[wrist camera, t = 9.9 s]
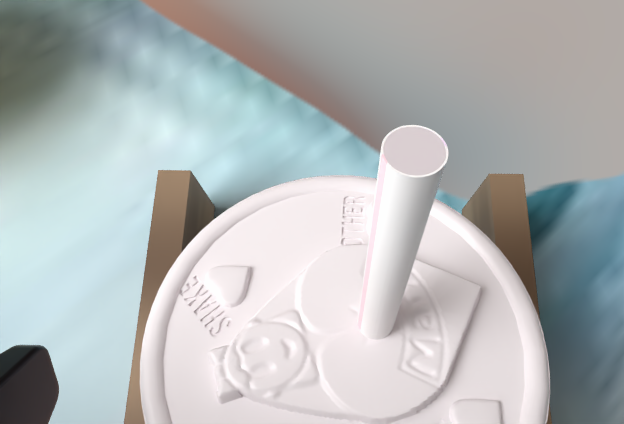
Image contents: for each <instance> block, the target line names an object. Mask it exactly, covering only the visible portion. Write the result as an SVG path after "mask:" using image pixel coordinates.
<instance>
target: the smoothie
mask: <svg viewBox="0 0 624 424" xmlns="http://www.w3.org/2000/svg"><path fill="white" fill-rule="evenodd" d="M447 158H448V148H447V145H446V143H445V141H444V140H443V139H442V137H441V136H440V135H439V134H437V133H436V132H434V131H433V130H431V129H429V128H426V127H423V126H417V125H407V126H401V127H399V128H396V129H394V130H392V131H391V132H389V133H388V134H387V135H386V137H385V138H384V140H383V142H382V146H381V153H380V160H379V168H378V175H377V179H376V178H370V177H362V176H351V175H331V176H317V177H310V178H304V179H299V180H294V181H290V182H286V183H283V184H280V185H277V186H273V187H270V188H268V189H265V190H263V191H261V192H258V193H256V194H254V195H252V196H250V197H248V198H246V199H244V200H242V201H240V202H239V203H237V204H235V205H234V206H232V207H231V208H229V209H227V210H226V211H224V212H223V213H222V214H221V215H219V216H218V217H217V218H215V219H214V220H213V221H211V222H210V223H209V224H208V225H207V226H206V227H205V228H204V229H202V230H201V231H200V232H199V233H198V234H197V235H196V236H195V238H194V239H193V240H192V241H191V242H190V243H189V244H188V245H187V246H186V248H185V249H184V250H183V251H182V253H181V254H180V255H179V257H178V258H177V259H176V261H175V262H174V264H173V265H172V267H171V268H170V270H169V272H168V273H167V275H166V277H165V279H164V281H163V283H162V284H161V286H160V288H159V290H158V293H157V295H156V297H155V300H154V302H153V305H152V307H151V311H150V314H149V317H148V320H147V323H146V328H145V332H144V337H143V342H142V349H141V358H140V393H141V404H142V410H143V415H144V420H145V424H546V423H547V418H548V411H549V400H550V371H549V362H548V353H547V348H546V343H545V339H544V334H543V330H542V327H541V324H540V321H539V318H538V315H537V312H536V310H535V307H534V305H533V303H532V300H531V298H530V296H529V294H528V292H527V290H526V288H525V286H524V284H523V282H522V281H521V279H520V277H519V276H518V274H517V273H516V271H515V270H514V268H513V267H512V265H511V263H510V262H509V261H508V260H507V258H506V257H505V256H504V255H503V253H502V252H501V251H500V249H499V248H498V247H497V246H496V245H495V244H494V243H493V242H492V241H491V240H490V239H489V238H488V237H487V235H485V234H484V233H483V232H482V231H481V230H480V229H479V228H478V227H477V226H475V225H474V224H473V223H472V222H471V221H469V220H468V219H467V218H465V217H464V216H463V215H461V214H460V213H459V212H457V211H455V210H454V209H452V208H451V207H449V206H448V205H446V204H444V203H443V202H441V201H439V200H437V199H435V196H436V193H437V190H438V187H439V183H440V180H441V177H442V174H443V171H444V168H445V165H446V162H447Z"/></svg>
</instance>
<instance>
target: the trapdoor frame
mask: <svg viewBox="0 0 624 424" xmlns="http://www.w3.org/2000/svg"><path fill="white" fill-rule="evenodd" d="M214 209H215V206H214V205H213V203H212V202H211V200H210V199H209V197H208V196H207V194H206V193H205V191H204V190H203V188H202V187H201V185H200V184H199V182H198V181H197V179H196V178H195V176H194V175H193V173H192V172H191V171H180V170H158V177H157V184H156V191H155V199H154V206H153V213H152V221H151V228H150V235H149V243H148V250H147V257H146V265H145V272H144V280H143V287H142V294H141V302H140V309H139V316H138V324H137V331H136V338H135V346H134V353H133V360H132V368H131V375H130V382H129V390H128V397H127V405H126V412H125V419H124V424H145V420H144V415H143V410H142V404H141V393H140V358H141V349H142V342H143V337H144V332H145V328H146V323H147V320H148V317H149V314H150V311H151V307H152V305H153V302H154V300H155V297H156V295H157V293H158V290H159V288H160V286H161V284H162V283H163V281H164V279H165V277H166V275H167V273H168V272H169V270H170V268H171V267H172V265H173V264H174V262H175V261H176V259H177V258H178V257H179V255H180V254H181V253H182V251H183V250H184V249H185V248H186V246H187V245H188V244H189V243H190V242H191V241H192V240H193V239H194V238H195V236H196V235H197V234H198V233H199V232H200V231H201V230H202V229H204V228H205V227H206V226H207V225H208V224H209V223H210V222H211V221H213V220H214ZM462 215H463V216H464V217H465V218H467V219H468V220H469V221H471V222H472V223H473V224H474V225H475V226H477V227H478V228H479V229H480V230H481V231H482V232H483V233H484V234H485V235H487V237H488V238H489V239H490V240H491V241H492V242H493V243H494V244H495V245H496V246H497V247H498V248H499V249H500V251H501V252H502V253H503V255H504V256H505V257H506V258H507V260H508V261H509V262H510V263H511V265H512V267H513V268H514V270H515V271H516V273H517V274H518V276H519V277H520V279H521V281H522V282H523V284H524V286H525V288H526V290H527V292H528V294H529V296H530V298H531V300H532V303H533V305H534V307H535V310H536V312H537V315H538V318H539V321H540V316H539V307H538V298H537V289H536V281H535V272H534V263H533V254H532V245H531V237H530V228H529V219H528V210H527V202H526V193H525V184H524V176H523V174H489V175H488V176H487V177H486V179H485V180H484V181H483V183H482V184H481V185H480V187H479V188H478V189H477V191H476V192H475V194H474V195H473V196H472V197H471V199H470V200H469V201H468V203H467V204H466V205H465V207H464V208H463V209H462ZM546 424H552V421H551V412H550V403H549V411H548V418H547V423H546Z"/></svg>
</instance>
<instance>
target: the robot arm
mask: <svg viewBox="0 0 624 424" xmlns="http://www.w3.org/2000/svg"><path fill="white" fill-rule="evenodd" d="M58 394H59V386H58V381H57V378H56V375H55V372H54V368H53V365H52V362H51V359H50V356H49V353H48V350H47V349H46V348H45V347H44V346H41V345H16V346H13V347H11V348H10V349H8V350H6V351H4V352H3V353H1V354H0V424H48V422H49V420H50V417H51V415H52V412H53V410H54V407H55V405H56V402H57V399H58Z"/></svg>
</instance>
